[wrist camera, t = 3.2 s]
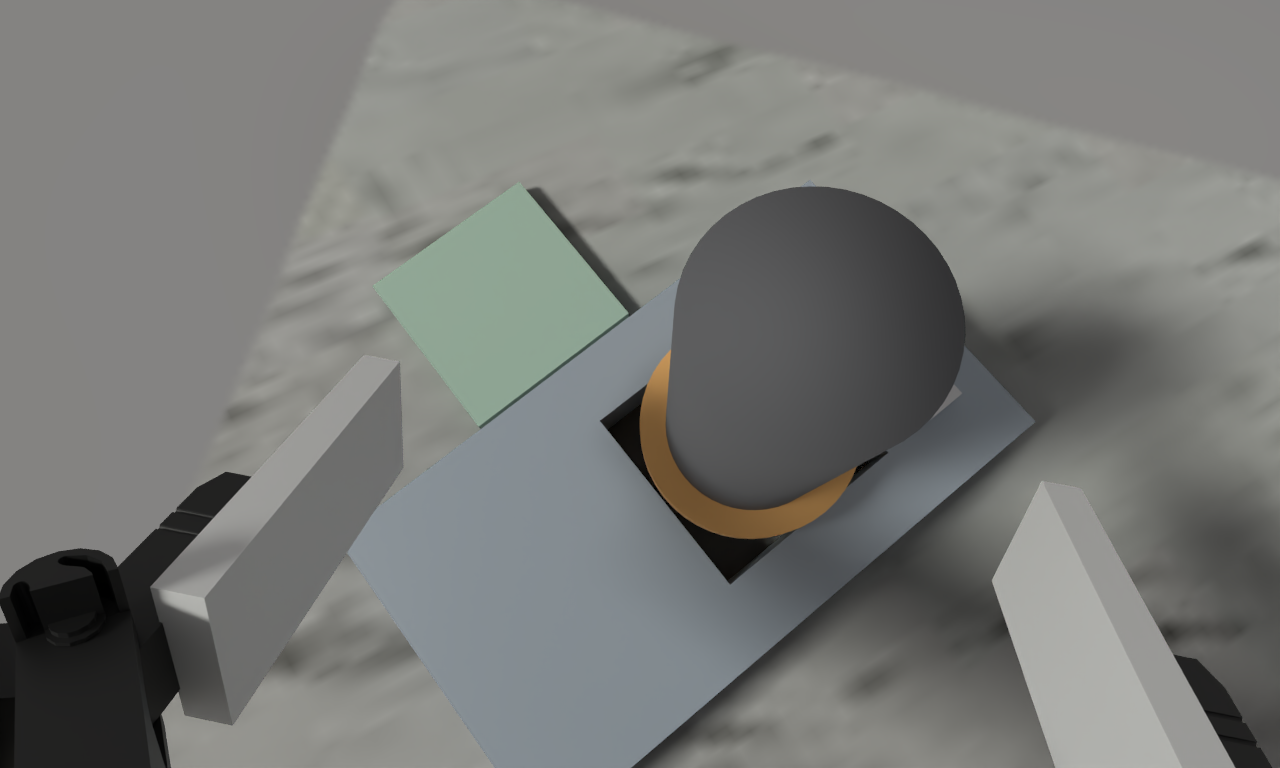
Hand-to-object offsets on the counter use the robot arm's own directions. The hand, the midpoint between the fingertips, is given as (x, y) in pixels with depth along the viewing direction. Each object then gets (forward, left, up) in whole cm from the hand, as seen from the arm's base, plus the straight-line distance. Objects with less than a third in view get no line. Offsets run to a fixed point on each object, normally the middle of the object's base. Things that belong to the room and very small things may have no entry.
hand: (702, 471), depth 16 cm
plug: (0, -2, -9) cm, 9 cm away
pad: (+9, +1, -9) cm, 12 cm away
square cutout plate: (0, 0, -9) cm, 9 cm away
